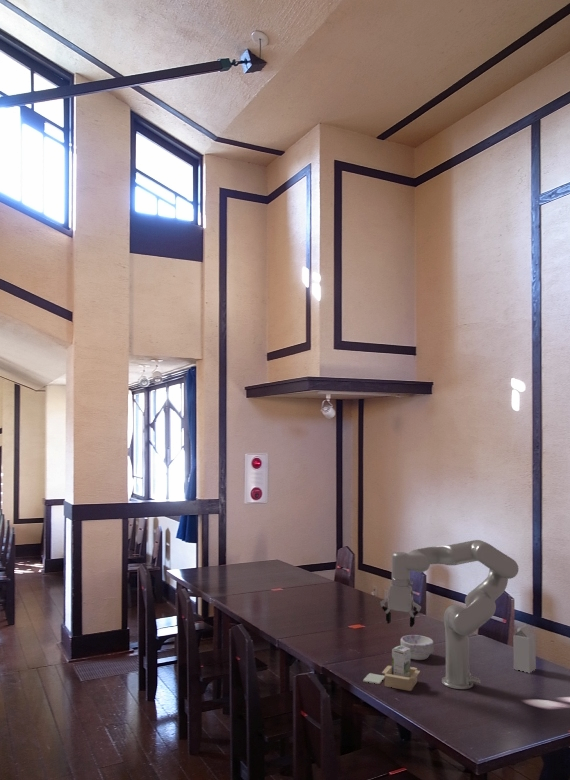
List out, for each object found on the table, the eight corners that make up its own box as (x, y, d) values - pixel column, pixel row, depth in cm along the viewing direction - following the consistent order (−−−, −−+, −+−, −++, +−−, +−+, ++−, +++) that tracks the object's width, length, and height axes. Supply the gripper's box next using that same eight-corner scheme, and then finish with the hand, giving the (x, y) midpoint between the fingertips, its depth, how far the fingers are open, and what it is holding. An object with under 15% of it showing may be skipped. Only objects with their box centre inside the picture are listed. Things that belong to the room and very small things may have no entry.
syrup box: (398, 680, 266) (398, 644, 267) (410, 684, 262) (410, 647, 263) (391, 684, 262) (391, 648, 263) (404, 688, 258) (404, 651, 259)
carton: (421, 681, 266) (421, 668, 266) (413, 693, 252) (413, 680, 253) (389, 675, 272) (389, 663, 272) (379, 687, 258) (379, 674, 259)
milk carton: (536, 669, 281) (535, 625, 283) (529, 673, 276) (528, 629, 278) (520, 665, 286) (519, 622, 288) (513, 669, 281) (512, 625, 282)
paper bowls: (420, 664, 285) (420, 646, 286) (393, 656, 297) (393, 638, 298) (440, 657, 295) (440, 640, 296) (413, 649, 307) (413, 632, 308)
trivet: (385, 677, 269) (385, 675, 269) (379, 684, 261) (379, 682, 261) (369, 674, 272) (369, 673, 272) (363, 681, 264) (363, 680, 264)
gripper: (423, 583, 265) (422, 625, 264) (383, 578, 272) (382, 619, 271) (419, 586, 258) (418, 630, 257) (378, 582, 266) (377, 623, 264)
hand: (400, 624), depth 264 cm, fingers open, 9 cm apart
